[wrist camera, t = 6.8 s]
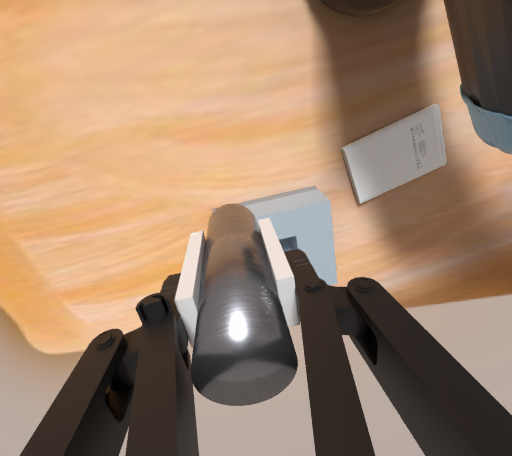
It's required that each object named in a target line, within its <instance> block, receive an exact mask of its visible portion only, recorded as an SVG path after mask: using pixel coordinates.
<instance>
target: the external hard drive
mask: <svg viewBox="0 0 512 456" xmlns="http://www.w3.org/2000/svg"><path fill="white" fill-rule="evenodd" d="M341 151H342V154H343V157H344V161H345V164H346V167H347V170H348V174H349V177H350V180H351V184H352V187H353V190H354V194H355V197H356V200H357V202H358V203H359V204H361V203H363V202H365V201H368V200H370V199H372V198H374V197H376V196H379V195H381V194H383V193H385V192H387V191H389V190H392V189H394V188H396V187H398V186H400V185H402V184H405V183H407V182H409V181H411V180H413V179H415V178H418V177H420V176H422V175H424V174H426V173H428V172H431V171H433V170H435V169H437V168H439V167H442V166H444V165H446V164H447V158H446V151H445V144H444V136H443V128H442V120H441V112H440V107H439V104H432V105H430V106H428V107H426V108H424V109H422V110H420V111H418V112H416V113H414V114H411V115H409V116H407V117H405V118H403V119H401V120H399V121H397V122H394V123H392V124H390V125H388V126H386V127H384V128H382V129H380V130H378V131H376V132H373V133H371V134H369V135H367V136H365V137H363V138H361V139H359V140H357V141H354V142H352V143H350V144H348V145H346V146H344V147H342V148H341Z"/></svg>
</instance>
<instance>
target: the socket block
mask: <svg viewBox="0 0 512 456" xmlns="http://www.w3.org/2000/svg"><path fill="white" fill-rule="evenodd" d="M238 204H239V205H242V206H245V207H246V208H248V209H249V210H250V211H251V212H252V213H253V214H254V216H255V218H256V221H257V224H258V220H260V219H265V218H270V221H271V223H272V225H273V228H274V230H275V232H276V235H277V237H278V240H279V242H280V244H281V247H282V249H283V251H284V252H285V251H290V250H295V249H300V250H301V251H303V252H305V254H306V255H307V257H308V259H309V261H310V263H311V264H312V266H313V268H314V270H315V271H316V273H317V275H318V277H319V278H320V279H323V280H324V281H325V282H326V283H327V285H334V284H337V274H336V262H335V250H334V239H333V227H332V216H331V204H330V200H329V199H328V198H327V197H326V196H325V195H324V194H323V193H322V192H320V191H319V190H318V189H317V188H316V187H315V186H313V187H308V188H304V189H299V190H295V191H291V192H286V193H282V194H277V195H273V196H269V197H264V198H260V199H255V200H251V201H247V202H242V203H238ZM216 209H218V208H216ZM216 209H213V212H214V211H215V210H216ZM212 214H213V213H212ZM258 228H259V225H258ZM259 231H260V230H259Z"/></svg>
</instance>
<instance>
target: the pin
mask: <svg viewBox="0 0 512 456" xmlns="http://www.w3.org/2000/svg"><path fill="white" fill-rule="evenodd" d="M297 366H298V360H297V355H296V352H295V349H294V345H293V342H292V339H291V335H290V332H289V328H288V325H287V322H286V318H285V315H284V312H283V308H282V305H281V302H280V299H279V296H278V292H277V289H276V286H275V282H274V279H273V276H272V272H271V269H270V265H269V262H268V259H267V255H266V252H265V249H264V245H263V242H262V238H261V235H260V231H259V228H258V224H257V221H256V218H255V216H254V214H253V213H252V212H251V211H250V210H249V209H248V208H246V207H245V206H242V205H239V204H227V205H223V206H221V207H219V208H218V209H216V210H215V211H214V212H213V214H212V215H211V217H210V219H209V223H208V231H207V239H206V247H205V256H204V264H203V272H202V280H201V289H200V297H199V305H198V314H197V322H196V330H195V338H194V347H193V355H192V364H191V379H192V383H193V384H194V386H195V388H196V389H197V391H198V392H199V393H200V394H202V395H203V396H204V397H206V398H207V399H209V400H211V401H214V402H216V403H220V404H224V405H231V406H243V405H251V404H256V403H260V402H263V401H265V400H268V399H270V398H272V397H274V396H276V395H277V394H279V393H280V392H281V391H283V390H284V389H285V388H286V387H287V386H288V385H289V384H290V383H291V381H292V380H293V378H294V376H295V374H296V371H297Z"/></svg>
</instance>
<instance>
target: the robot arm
mask: <svg viewBox="0 0 512 456" xmlns="http://www.w3.org/2000/svg"><path fill="white" fill-rule="evenodd" d="M321 1H322V2H324V3H325V4H326V5H327V6H329V7H330V8H332V9H334V10H336V11H338V12H340V13H343V14H347V15H352V16H366V15H371V14H375V13H378V12H381V11H383V10H385V9H387V8H389V7H391V6H392V5H394V4H396V3H397V2H399V1H401V0H321ZM444 4H445V9H446V13H447V18H448V22H449V27H450V31H451V36H452V41H453V45H454V50H455V54H456V59H457V63H458V68H459V72H460V77H461V82H462V84H461V85H460V92H461V96H462V99H463V100H464V102H465V103H466V104H467V107H468V110H469V113H470V116H471V120H472V123H473V127H474V129H475V132H476V133H477V135H478V136H479V137H480V138H481V139H482V140H483V141H484V142H485V143H486V144H488V145H490V146H492V147H496V148H498V149H500V150H501V151H502V152H505V153H508V154H511V155H512V0H444ZM258 225H259V230H260V235H261V238H262V242H263V245H264V249H265V252H266V255H267V259H268V262H269V265H270V269H271V272H272V276H273V279H274V282H275V286H276V289H277V292H278V296H279V299H280V302H281V305H282V308H283V312H284V315H285V318H286V322H287V325H288V327H291V326H295V325H300V322H301V329H302V338H303V346H304V355H305V364H306V373H307V381H308V390H309V399H310V408H311V417H312V426H313V435H314V443H315V452H316V456H375V453H374V449H373V446H372V442H371V439H370V435H369V432H368V428H367V424H366V421H365V417H364V414H363V410H362V407H361V403H360V400H359V396H358V392H357V389H356V385H355V381H354V378H353V374H352V371H351V367H350V364H349V360H348V356H347V353H346V349H345V345H344V342H343V338H342V335H349V336H350V338H351V340H352V341H353V343H354V344H355V346H356V347H357V349H358V351H359V352H360V354H361V355H362V357H363V358H364V360H365V361H366V363H367V365H368V366H369V368H370V370H371V371H372V373H373V374H374V376H375V377H376V379H377V381H378V382H379V384H380V385H381V386H382V388H383V390H384V392H385V393H386V395H387V396H388V398H389V399H390V401H391V402H392V404H393V406H394V407H395V409H396V410H397V412H398V413H399V415H400V417H401V418H402V420H403V421H404V423H405V424H406V426H407V428H408V429H409V431H410V432H411V434H412V435H413V437H414V439H415V440H416V441H417V443H418V445H419V446H420V448H421V450H422V451H423V453H424V454H425V456H512V415H510V413H509V412H508V411H507V410H506V409H505V408H504V407H503V406H502V405H501V404H500V403H499V402H498V401H497V400H496V399H495V398H494V397H493V396H492V395H491V394H490V393H489V392H488V391H487V390H486V389H485V388H484V387H483V386H482V385H481V384H480V383H479V382H478V381H477V380H476V379H474V377H473V376H472V375H471V374H470V373H469V372H468V371H467V370H466V369H465V368H464V367H463V366H461V364H460V363H459V362H458V361H456V359H454V358H453V356H452V355H451V354H450V353H449V352H448V351H447V350H446V349H445V348H444V347H443V346H442V345H441V344H439V342H438V341H436V340H435V339H434V337H432V335H431V334H430V333H429V332H428V331H427V330H425V329H424V328H423V327H422V326H421V325H420V324H419V323H418V322H417V321H416V320H415V319H414V318H413V317H412V316H411V315H410V314H409V313H408V312H407V311H406V310H405V309H404V308H403V307H402V306H401V305H400V304H399V303H398V302H397V301H396V300H395V299H394V298H393V297H392V296H391V295H390V294H389V293H388V292H387V291H386V290H385V289H384V288H383V287H382V286H381V285H380V284H379V283H378V282H377V281H375V280H373V279H370V278H365V277H359V278H354V279H352V280H350V281H349V282H348V285H347V287H334V286H330V285H327V283H326V282H325V281H324V280H323V279H320V278H319V277H318V275H317V273H316V271H315V270H314V268H313V266H312V264H311V263H310V261H309V259H308V257H307V255H306V254H305V252H303V251H301V250H300V249H295V250H290V251H285V252H284V251H283V249H282V247H281V244H280V242H279V240H278V237H277V235H276V232H275V230H274V228H273V225H272V223H271V221H270V218H265V219H260V220H258ZM205 247H206V240H205V237H204V233H203V231H199V232H194V233H191V235H190V239H189V243H188V247H187V251H186V255H185V259H184V263H183V267H182V271H181V273H179V274H174V275H169V276H168V278H167V279H166V280H165V281H164V283H163V286H162V289H161V292H160V293H155V294H151V295H149V296H147V297H145V298H144V299H142V300H141V301H140V302H139V303H138V304H137V306H136V311H137V313H138V315H139V317H140V319H141V322H142V326H141V327H140V328H138V329H136V330H134V331H131V332H129V333H127V334H125V335H124V334H123V332H122V331H121V330H119V329H111V330H107V331H105V332H103V333H101V334H99V335H98V336H97V337H96V338H94V339H93V340H92V342H91V343H90V344H89V346H88V347H87V349H86V350H85V352H84V354H83V355H82V357H81V358H80V360H79V362H78V363H77V365H76V366H75V368H74V370H73V371H72V373H71V374H70V376H69V378H68V379H67V381H66V382H65V384H64V386H63V387H62V389H61V390H60V392H59V394H58V395H57V397H56V398H55V400H54V402H53V403H52V405H51V407H50V408H49V410H48V411H47V413H46V414H45V416H44V418H43V419H42V421H41V423H40V424H39V426H38V427H37V429H36V431H35V432H34V434H33V435H32V437H31V438H30V440H29V442H28V443H27V445H26V446H25V448H24V450H23V451H22V453H21V454H20V456H119V453H120V450H121V447H122V444H123V441H124V439H125V435H126V433H127V430H128V427H129V432H128V440H127V448H126V456H199V450H198V439H197V428H196V417H195V405H194V394H193V383H192V379H191V360H190V354H189V351H188V349H187V346H188V339H189V342H190V344H191V347H194V338H195V330H196V322H197V314H198V305H199V297H200V289H201V280H202V272H203V264H204V256H205ZM299 319H300V321H299Z"/></svg>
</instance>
